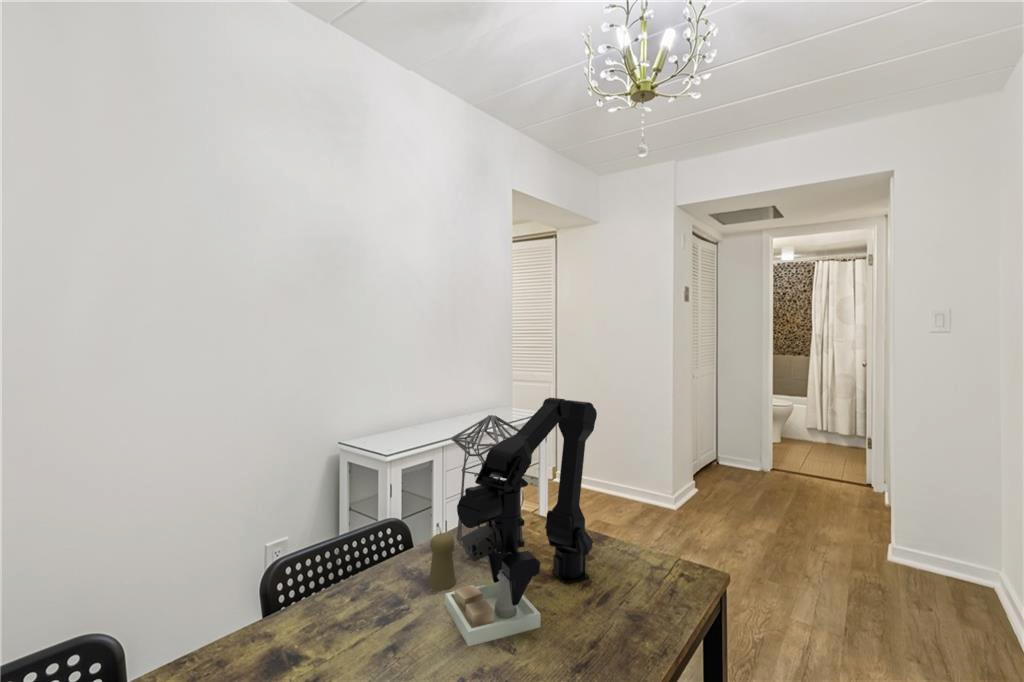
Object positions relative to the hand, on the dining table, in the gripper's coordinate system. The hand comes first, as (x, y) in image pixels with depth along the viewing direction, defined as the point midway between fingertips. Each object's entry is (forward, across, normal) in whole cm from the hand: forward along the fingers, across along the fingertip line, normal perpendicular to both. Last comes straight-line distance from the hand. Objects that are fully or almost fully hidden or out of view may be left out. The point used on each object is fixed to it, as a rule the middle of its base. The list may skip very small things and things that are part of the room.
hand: (505, 593), depth 96 cm
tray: (+4, 0, -3) cm, 5 cm away
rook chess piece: (+4, 0, 0) cm, 4 cm away
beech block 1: (+4, -3, -6) cm, 8 cm away
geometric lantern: (+5, -25, +7) cm, 26 cm away
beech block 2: (+4, +3, -6) cm, 8 cm away
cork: (+5, -16, -8) cm, 18 cm away
